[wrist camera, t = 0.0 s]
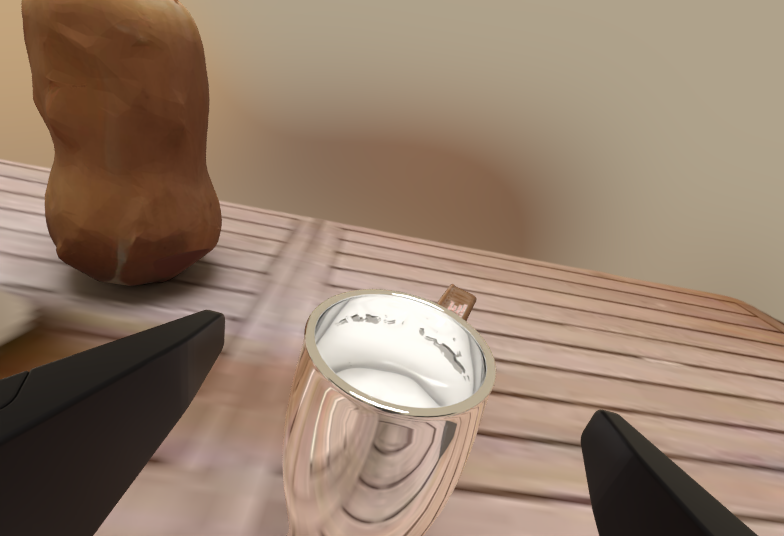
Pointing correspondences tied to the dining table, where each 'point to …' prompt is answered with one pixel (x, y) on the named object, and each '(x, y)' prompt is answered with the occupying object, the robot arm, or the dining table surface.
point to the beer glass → (381, 414)
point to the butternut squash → (124, 135)
